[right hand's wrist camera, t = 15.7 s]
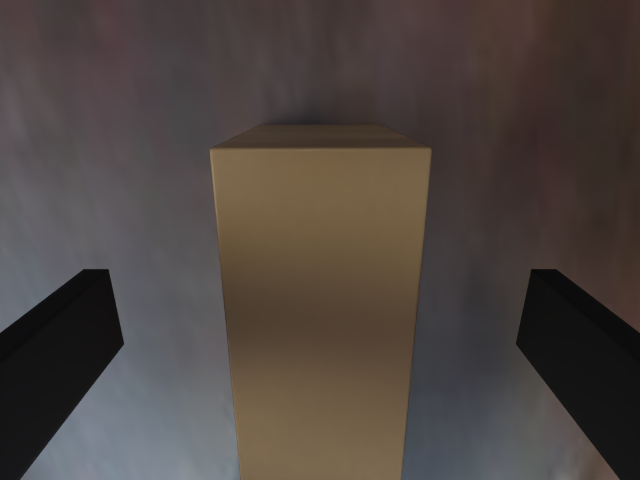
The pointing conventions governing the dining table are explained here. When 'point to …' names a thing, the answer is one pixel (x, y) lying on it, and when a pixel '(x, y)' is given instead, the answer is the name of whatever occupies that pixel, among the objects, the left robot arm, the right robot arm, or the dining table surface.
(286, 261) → the post
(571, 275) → the dining table surface
